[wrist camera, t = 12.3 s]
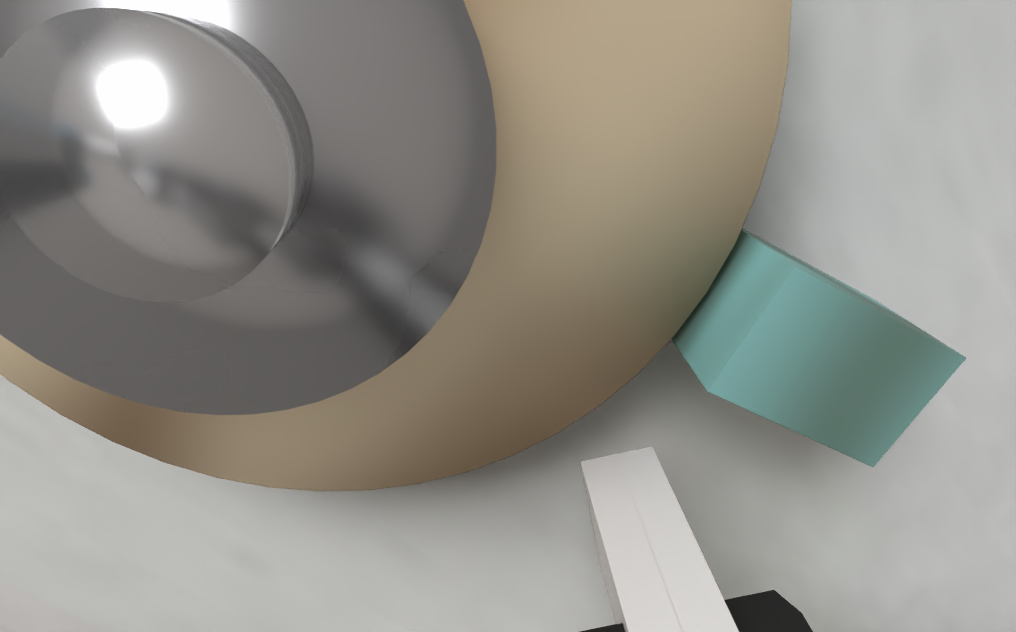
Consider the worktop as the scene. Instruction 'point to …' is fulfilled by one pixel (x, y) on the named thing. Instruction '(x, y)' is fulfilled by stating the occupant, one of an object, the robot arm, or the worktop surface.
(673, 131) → the platter
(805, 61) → the worktop surface
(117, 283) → the cover
